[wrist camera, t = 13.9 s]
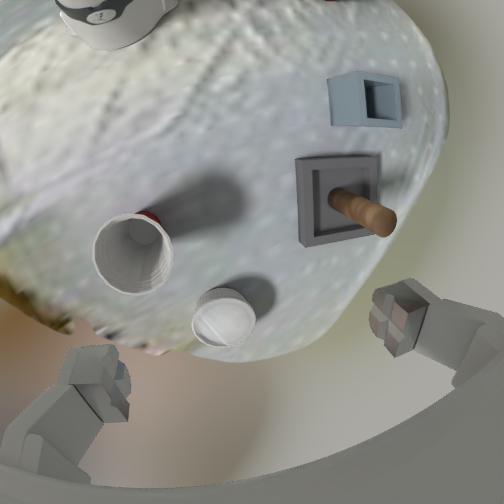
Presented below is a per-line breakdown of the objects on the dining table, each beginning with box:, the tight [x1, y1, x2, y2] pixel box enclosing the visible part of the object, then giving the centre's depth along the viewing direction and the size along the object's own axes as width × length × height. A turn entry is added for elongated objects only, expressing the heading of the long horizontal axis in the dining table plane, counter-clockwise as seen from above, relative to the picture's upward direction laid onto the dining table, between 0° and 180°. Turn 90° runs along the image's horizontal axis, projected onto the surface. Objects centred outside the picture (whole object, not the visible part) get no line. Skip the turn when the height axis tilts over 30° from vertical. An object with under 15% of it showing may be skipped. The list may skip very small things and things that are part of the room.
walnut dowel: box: [327, 187, 397, 237], centre depth 40 cm, size 4×4×14 cm
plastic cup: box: [93, 211, 174, 296], centre depth 37 cm, size 11×11×12 cm
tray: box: [295, 155, 377, 248], centre depth 46 cm, size 15×15×3 cm
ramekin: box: [192, 288, 256, 348], centre depth 49 cm, size 11×11×5 cm
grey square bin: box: [327, 71, 402, 128], centre depth 37 cm, size 8×8×9 cm
